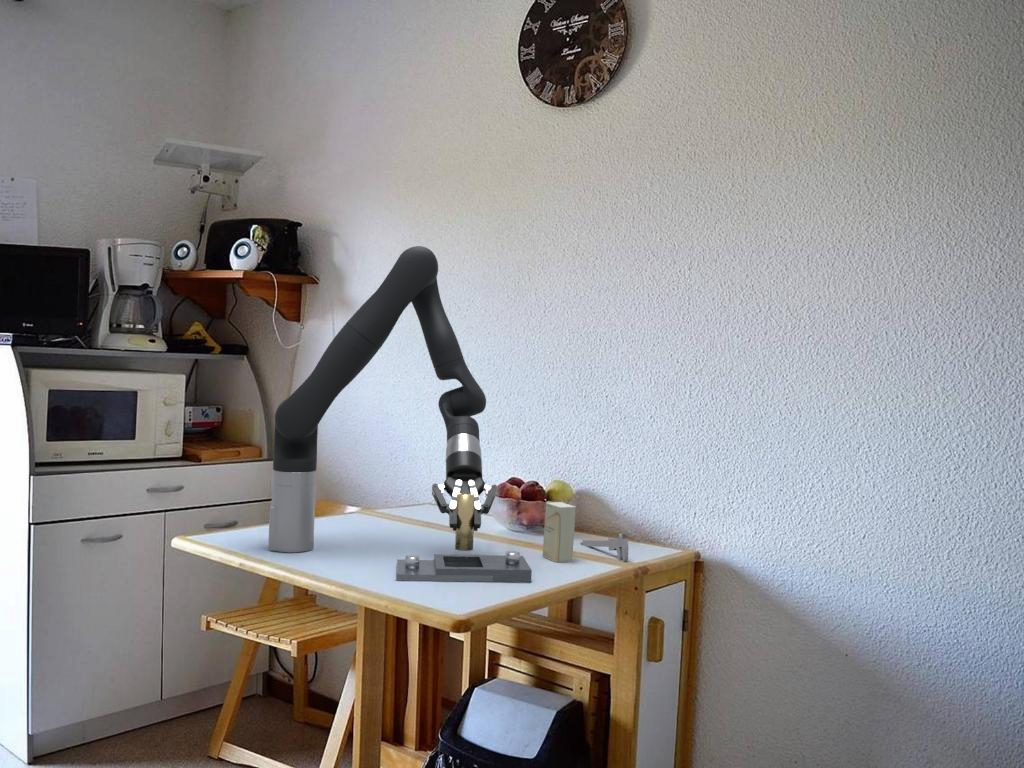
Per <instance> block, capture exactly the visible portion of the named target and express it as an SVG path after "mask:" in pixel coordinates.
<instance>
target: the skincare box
mask: <svg viewBox="0 0 1024 768" xmlns="http://www.w3.org/2000/svg"><path fill="white" fill-rule="evenodd" d="M576 510H577V506H575V505H571V504H568V503H565V502H563V501H560V502H559V501H557V502H554V501H553V502H552V501H551V502H547V501H546V502H545V514H544V515H545V516H544V527H543V528H544V529H543V530H544V531H543V544H542V545H543V546H542V557H544V558H546V559H548V560H550V561H552V562H554V563H566V562H573V556H574V554H573V553H574V543H575V542H574V541H575V525H576Z"/></svg>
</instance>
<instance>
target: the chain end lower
mask: <svg viewBox="0 0 1024 768" xmlns="http://www.w3.org/2000/svg"><path fill="white" fill-rule="evenodd" d="M420 558H421V557H420V556H419V555H414V554H413V555H405V559H396V561H397V563H396V581H397V582H398V581H403V582H404V581H405V582H406V581H407V582H409V581H410V582H463V583H464V582H469V583H472V582H474V583H479V582H480V583H494V582H493V576H475V575H436V571H435V564H434V559H420ZM444 564H445V567H481V566H480V563H467V562H444Z"/></svg>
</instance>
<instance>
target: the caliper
mask: <svg viewBox="0 0 1024 768" xmlns="http://www.w3.org/2000/svg"><path fill="white" fill-rule="evenodd" d="M579 544H580V545H582V546H584V547H603V548H605V547H606V548H608V551H616V554H617V558H618V561H622V562H623V561H625V562H628V560H629V539H628V538H627V534H626V533H618V537H616V538H608V539H607V540H606V539H605V540H604V539H602V540H601V539H594V540H593V539H585V540H583V539H582V541H581V542H580V543H579Z"/></svg>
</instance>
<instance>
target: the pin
mask: <svg viewBox="0 0 1024 768" xmlns="http://www.w3.org/2000/svg"><path fill="white" fill-rule="evenodd" d="M474 505H475V494H473V493H457V504H456V510H457V530H456V531H455V540H454V541H455V542H454V543H455V544H454V549H455V551H456V550H457V551H462V552H469V551H474V536H475V535H474V532H475V531H474Z"/></svg>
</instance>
